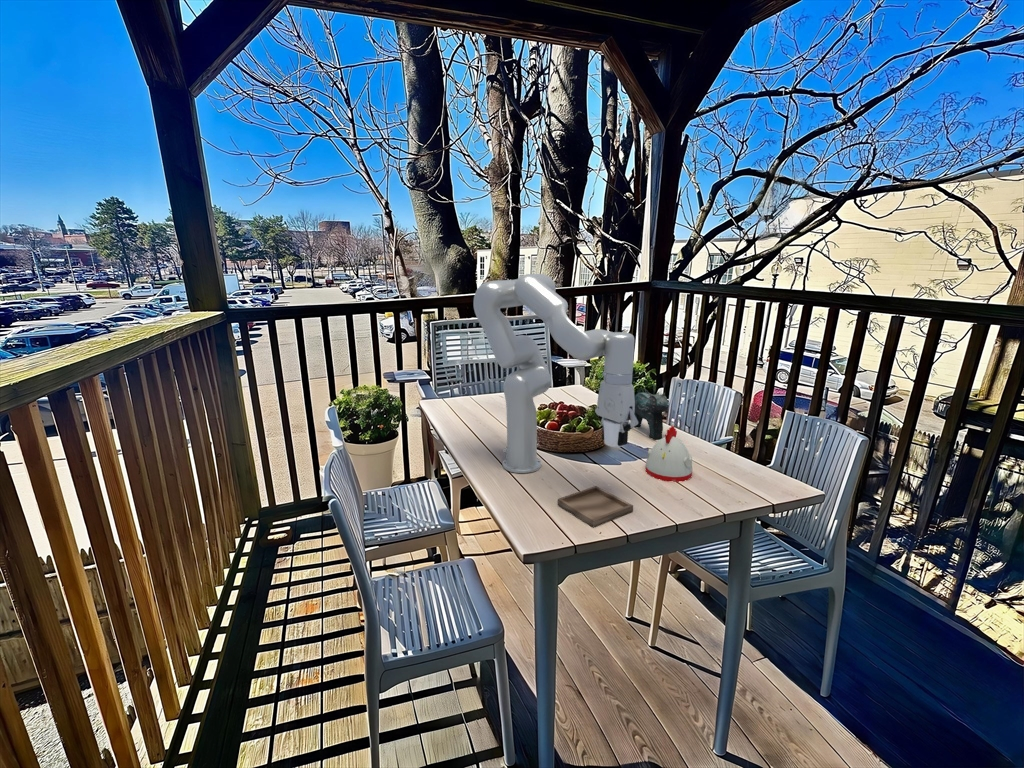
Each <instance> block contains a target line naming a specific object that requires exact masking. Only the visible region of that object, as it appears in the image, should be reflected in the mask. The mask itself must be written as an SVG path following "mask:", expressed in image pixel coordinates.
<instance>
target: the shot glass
mask: <svg viewBox="0 0 1024 768" xmlns="http://www.w3.org/2000/svg"><path fill="white" fill-rule="evenodd" d="M603 423H604V445H605V446H608V447H612V448H619V447H624V446H625V445H622V446H618V436H619V432H621V431H620V426H621V424H620V423H618V422H615V421H612V420H609V419H606V418H604V419H603ZM626 425H627V422H625V423H624V427H625V426H626Z"/></svg>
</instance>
